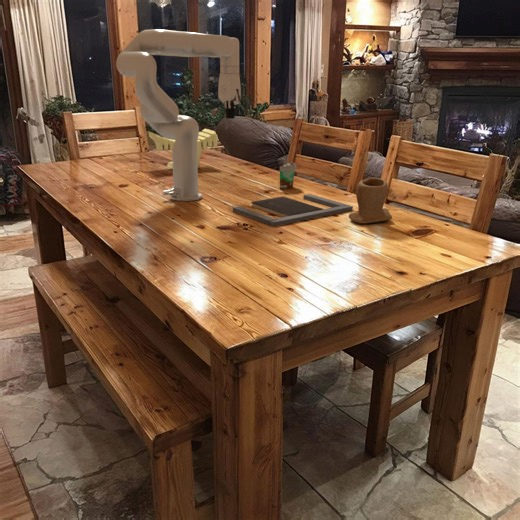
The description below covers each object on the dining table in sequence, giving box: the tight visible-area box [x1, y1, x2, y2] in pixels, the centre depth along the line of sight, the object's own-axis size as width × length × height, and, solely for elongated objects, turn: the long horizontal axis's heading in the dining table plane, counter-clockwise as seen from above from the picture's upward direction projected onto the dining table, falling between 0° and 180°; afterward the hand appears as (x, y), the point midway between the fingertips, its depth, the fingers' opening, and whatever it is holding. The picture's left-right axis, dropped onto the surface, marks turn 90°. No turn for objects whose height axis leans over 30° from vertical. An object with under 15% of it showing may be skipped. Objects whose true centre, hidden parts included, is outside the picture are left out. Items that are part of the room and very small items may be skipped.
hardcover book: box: [250, 196, 324, 218], centre depth 206 cm, size 16×23×2 cm
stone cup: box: [348, 177, 393, 224], centre depth 189 cm, size 15×12×15 cm
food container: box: [279, 161, 297, 190], centre depth 240 cm, size 12×6×10 cm, turn 168°
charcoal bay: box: [232, 193, 354, 227], centre depth 204 cm, size 37×24×2 cm, turn 127°
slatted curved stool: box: [148, 128, 218, 170], centre depth 279 cm, size 30×16×18 cm, turn 117°
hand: (230, 118), depth 228 cm, fingers closed
